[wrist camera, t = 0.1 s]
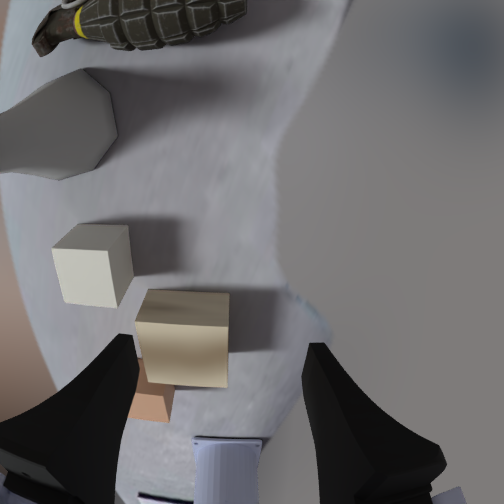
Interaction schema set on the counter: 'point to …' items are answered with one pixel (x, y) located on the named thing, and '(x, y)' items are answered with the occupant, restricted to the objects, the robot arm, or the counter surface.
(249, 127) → the counter surface
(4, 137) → the flask
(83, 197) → the counter surface
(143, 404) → the brown cube
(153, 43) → the grenade
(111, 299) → the cream cube
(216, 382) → the beech block
